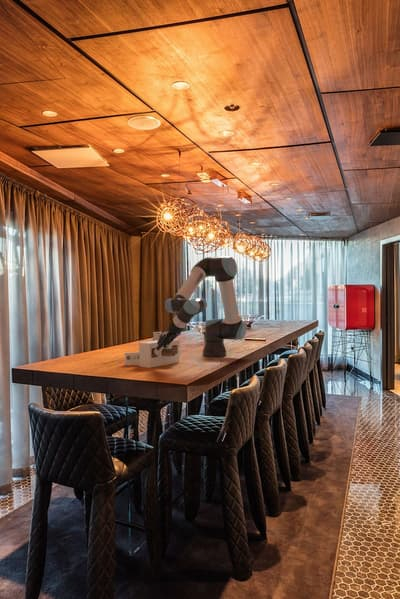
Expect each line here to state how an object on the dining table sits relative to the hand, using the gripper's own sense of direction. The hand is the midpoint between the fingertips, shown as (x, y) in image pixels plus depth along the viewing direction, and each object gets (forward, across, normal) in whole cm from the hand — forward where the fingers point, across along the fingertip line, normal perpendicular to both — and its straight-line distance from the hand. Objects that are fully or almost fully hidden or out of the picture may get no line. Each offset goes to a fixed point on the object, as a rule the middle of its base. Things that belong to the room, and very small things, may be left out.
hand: (155, 353), depth 250 cm
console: (+9, +8, -2) cm, 12 cm away
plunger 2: (+6, +16, +3) cm, 17 cm away
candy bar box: (+17, +23, +6) cm, 30 cm away
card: (+16, -3, +5) cm, 16 cm away
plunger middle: (+1, +8, -2) cm, 8 cm away
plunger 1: (+6, 0, +3) cm, 6 cm away
